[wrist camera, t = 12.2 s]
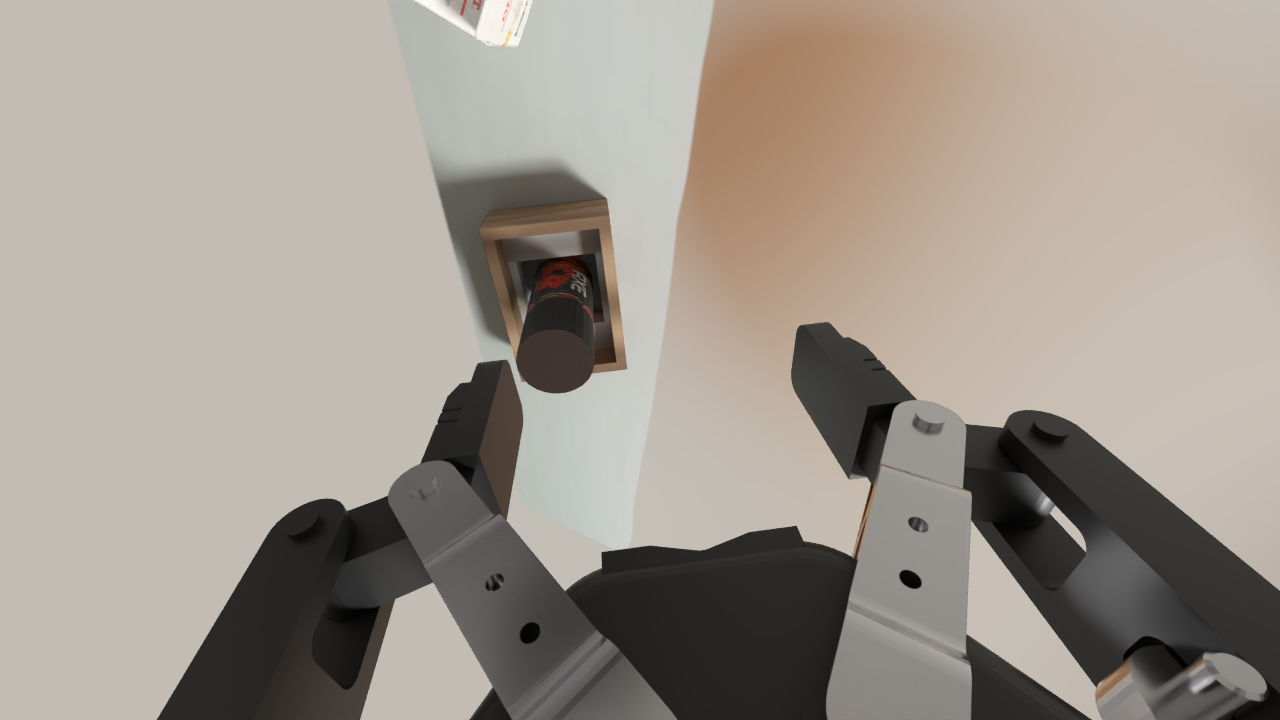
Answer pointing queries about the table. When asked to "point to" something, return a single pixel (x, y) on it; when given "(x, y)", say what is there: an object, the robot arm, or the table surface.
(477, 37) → the ink cartridge box
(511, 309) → the light wooden box
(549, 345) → the deodorant
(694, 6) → the table surface
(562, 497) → the table surface
